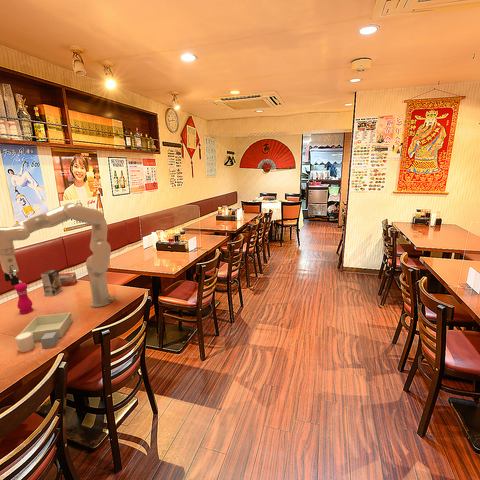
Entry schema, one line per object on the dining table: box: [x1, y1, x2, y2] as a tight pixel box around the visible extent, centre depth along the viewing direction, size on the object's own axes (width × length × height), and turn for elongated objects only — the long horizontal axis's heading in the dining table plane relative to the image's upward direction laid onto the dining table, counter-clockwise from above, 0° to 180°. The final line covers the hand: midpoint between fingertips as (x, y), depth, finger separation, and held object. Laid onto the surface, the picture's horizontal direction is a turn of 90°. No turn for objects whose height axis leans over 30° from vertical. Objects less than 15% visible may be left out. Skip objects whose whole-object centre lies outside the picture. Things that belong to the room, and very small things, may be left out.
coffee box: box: [40, 269, 63, 297], centre depth 194 cm, size 9×6×16 cm
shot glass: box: [14, 332, 35, 353], centre depth 134 cm, size 7×7×7 cm
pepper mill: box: [14, 280, 34, 315], centre depth 168 cm, size 7×7×20 cm
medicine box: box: [59, 272, 78, 288], centre depth 209 cm, size 15×8×8 cm, turn 105°
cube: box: [40, 332, 59, 349], centre depth 137 cm, size 5×5×5 cm
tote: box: [19, 311, 73, 343], centre depth 148 cm, size 17×17×6 cm
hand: (12, 282), depth 148 cm, fingers open, 9 cm apart
